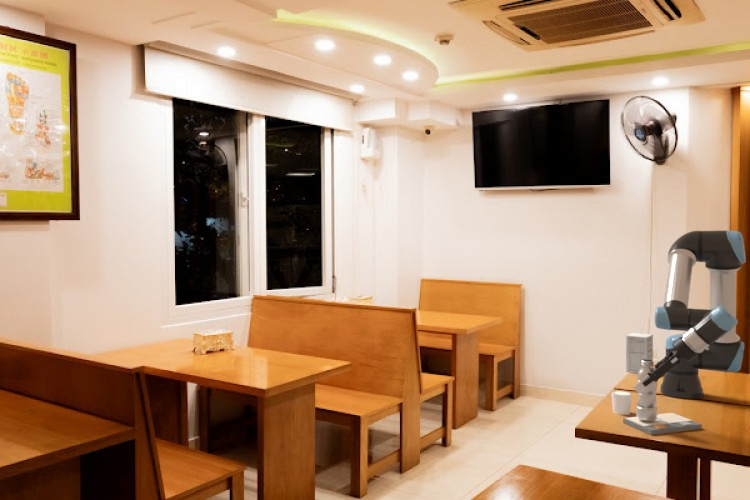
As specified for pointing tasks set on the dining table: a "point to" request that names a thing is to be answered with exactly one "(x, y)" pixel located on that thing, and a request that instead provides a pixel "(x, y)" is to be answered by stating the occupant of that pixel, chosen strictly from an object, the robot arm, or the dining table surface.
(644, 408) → the plastic bottle
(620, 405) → the white cup
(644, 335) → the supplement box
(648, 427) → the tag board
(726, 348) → the robot arm
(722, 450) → the dining table surface
